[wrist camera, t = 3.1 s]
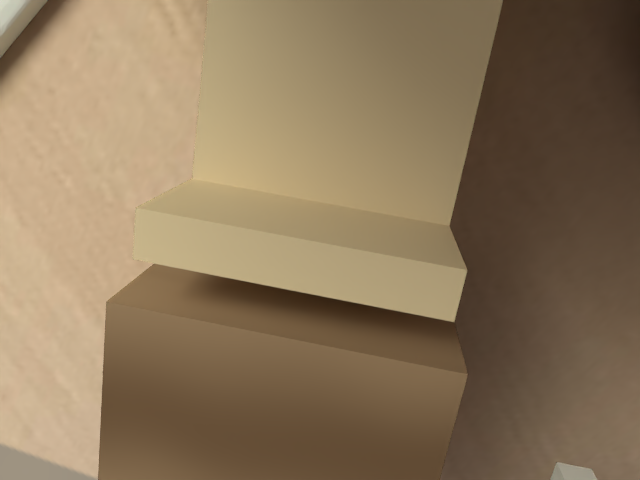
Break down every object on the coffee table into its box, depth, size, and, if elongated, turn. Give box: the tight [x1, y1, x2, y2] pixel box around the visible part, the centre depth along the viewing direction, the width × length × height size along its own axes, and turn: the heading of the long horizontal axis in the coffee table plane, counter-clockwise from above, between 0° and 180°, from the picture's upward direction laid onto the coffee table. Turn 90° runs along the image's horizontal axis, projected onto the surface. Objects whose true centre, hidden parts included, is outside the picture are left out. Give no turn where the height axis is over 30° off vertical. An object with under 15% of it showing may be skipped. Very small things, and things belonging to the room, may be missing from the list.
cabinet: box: [98, 264, 468, 480], centre depth 17 cm, size 9×7×10 cm
